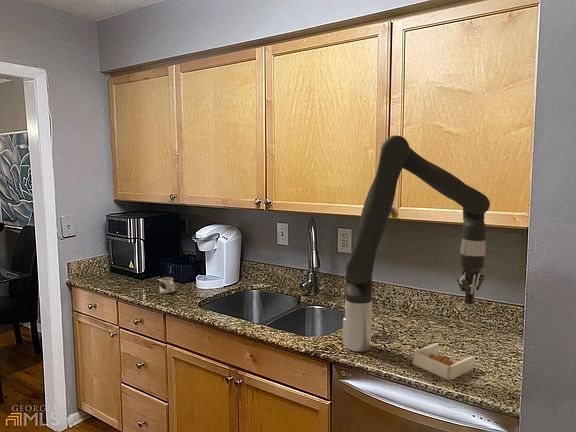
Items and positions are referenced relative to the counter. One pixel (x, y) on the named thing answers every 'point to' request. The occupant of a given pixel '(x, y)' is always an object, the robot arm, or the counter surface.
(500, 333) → the counter surface
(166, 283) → the mug
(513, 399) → the counter surface
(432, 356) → the pastry
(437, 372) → the bin
